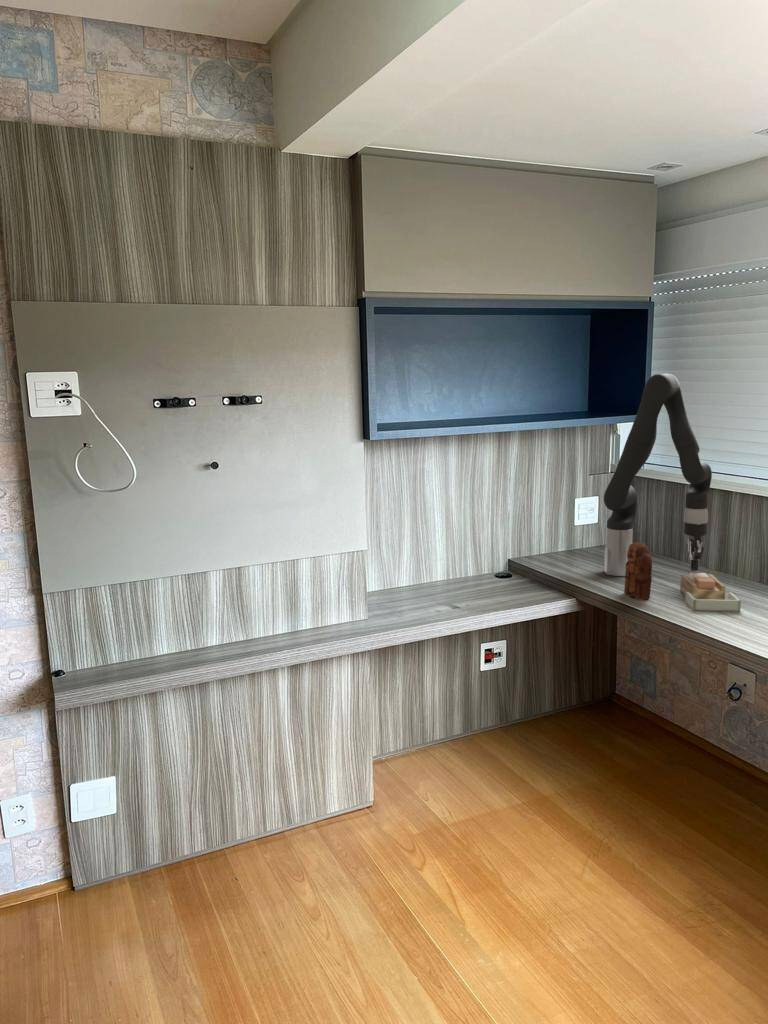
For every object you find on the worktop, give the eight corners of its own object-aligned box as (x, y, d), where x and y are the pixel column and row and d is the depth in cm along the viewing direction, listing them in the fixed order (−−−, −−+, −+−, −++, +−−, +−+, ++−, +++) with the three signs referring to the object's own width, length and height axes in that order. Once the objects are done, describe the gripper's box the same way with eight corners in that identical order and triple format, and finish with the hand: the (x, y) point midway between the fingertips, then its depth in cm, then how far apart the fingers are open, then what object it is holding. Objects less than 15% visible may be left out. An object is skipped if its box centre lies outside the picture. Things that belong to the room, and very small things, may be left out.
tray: (693, 610, 240) (693, 600, 239) (685, 602, 249) (686, 591, 248) (740, 611, 238) (740, 600, 238) (730, 603, 247) (731, 592, 246)
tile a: (693, 583, 256) (693, 576, 255) (689, 579, 261) (689, 572, 260) (709, 583, 255) (709, 576, 255) (704, 579, 260) (705, 572, 260)
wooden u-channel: (691, 602, 249) (692, 585, 248) (680, 589, 263) (680, 573, 262) (724, 603, 247) (725, 586, 246) (710, 590, 262) (711, 574, 261)
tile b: (698, 588, 250) (698, 581, 250) (694, 584, 255) (694, 577, 254) (714, 588, 249) (715, 581, 249) (710, 584, 254) (710, 577, 254)
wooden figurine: (618, 591, 262) (620, 540, 259) (635, 590, 264) (637, 538, 261) (637, 601, 251) (640, 547, 248) (655, 599, 252) (657, 546, 249)
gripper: (679, 517, 269) (677, 565, 272) (689, 524, 256) (687, 575, 259) (701, 517, 268) (699, 565, 271) (713, 524, 255) (710, 575, 258)
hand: (693, 570), depth 265 cm, fingers closed
